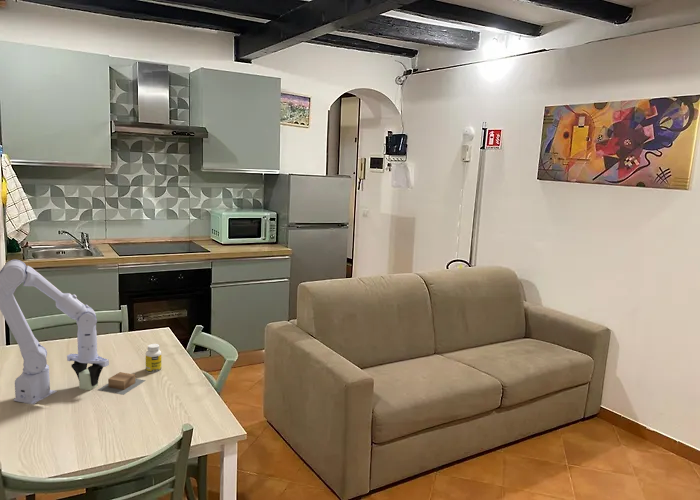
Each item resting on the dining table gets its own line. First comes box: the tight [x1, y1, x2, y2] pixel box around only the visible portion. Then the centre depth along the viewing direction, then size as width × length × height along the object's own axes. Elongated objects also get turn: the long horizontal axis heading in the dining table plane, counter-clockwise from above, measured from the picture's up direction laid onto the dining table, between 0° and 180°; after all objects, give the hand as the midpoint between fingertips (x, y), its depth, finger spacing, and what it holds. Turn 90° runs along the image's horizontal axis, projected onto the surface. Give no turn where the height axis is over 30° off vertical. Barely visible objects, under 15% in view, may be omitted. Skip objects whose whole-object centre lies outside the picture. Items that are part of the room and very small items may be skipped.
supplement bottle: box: [145, 343, 162, 374], centre depth 198 cm, size 5×5×10 cm
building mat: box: [97, 378, 146, 396], centre depth 185 cm, size 12×10×1 cm
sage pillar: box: [78, 368, 99, 391], centre depth 182 cm, size 4×4×6 cm
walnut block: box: [107, 371, 136, 390], centre depth 184 cm, size 6×6×3 cm
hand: (88, 383), depth 182 cm, fingers closed on sage pillar, 4 cm apart
